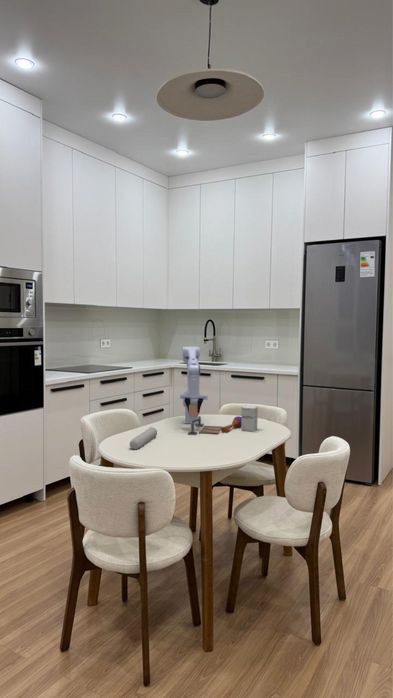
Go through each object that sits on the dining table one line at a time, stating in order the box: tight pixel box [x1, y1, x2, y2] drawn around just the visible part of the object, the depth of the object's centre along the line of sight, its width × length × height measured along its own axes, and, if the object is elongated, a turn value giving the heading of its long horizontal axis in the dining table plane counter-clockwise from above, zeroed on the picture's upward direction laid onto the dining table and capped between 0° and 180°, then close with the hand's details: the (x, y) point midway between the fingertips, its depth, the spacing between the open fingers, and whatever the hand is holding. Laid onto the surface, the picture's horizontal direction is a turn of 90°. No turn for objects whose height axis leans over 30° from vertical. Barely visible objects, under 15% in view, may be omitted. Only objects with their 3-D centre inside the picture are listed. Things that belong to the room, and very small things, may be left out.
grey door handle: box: [187, 415, 205, 436], centre depth 254 cm, size 24×4×5 cm, turn 169°
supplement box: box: [240, 404, 259, 432], centre depth 254 cm, size 7×7×13 cm
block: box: [189, 404, 200, 417], centre depth 254 cm, size 4×4×6 cm
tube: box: [129, 426, 158, 450], centre depth 226 cm, size 5×5×25 cm
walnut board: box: [198, 425, 223, 435], centre depth 253 cm, size 16×10×1 cm, turn 169°
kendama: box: [220, 415, 241, 434], centre depth 256 cm, size 6×6×20 cm
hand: (193, 412), depth 254 cm, fingers closed on block, 4 cm apart
